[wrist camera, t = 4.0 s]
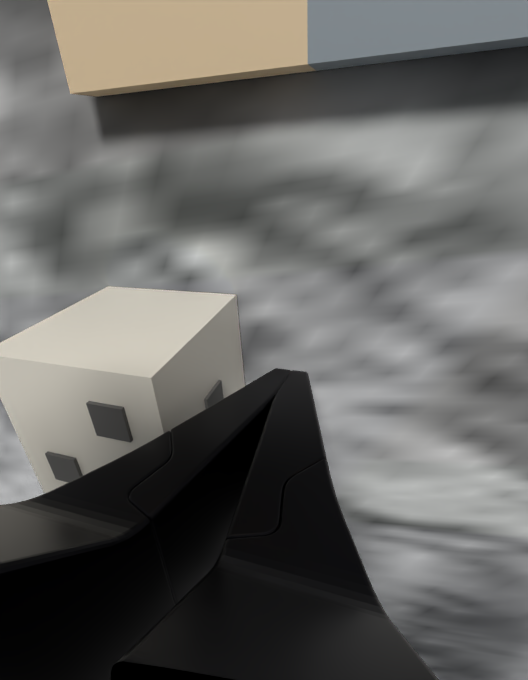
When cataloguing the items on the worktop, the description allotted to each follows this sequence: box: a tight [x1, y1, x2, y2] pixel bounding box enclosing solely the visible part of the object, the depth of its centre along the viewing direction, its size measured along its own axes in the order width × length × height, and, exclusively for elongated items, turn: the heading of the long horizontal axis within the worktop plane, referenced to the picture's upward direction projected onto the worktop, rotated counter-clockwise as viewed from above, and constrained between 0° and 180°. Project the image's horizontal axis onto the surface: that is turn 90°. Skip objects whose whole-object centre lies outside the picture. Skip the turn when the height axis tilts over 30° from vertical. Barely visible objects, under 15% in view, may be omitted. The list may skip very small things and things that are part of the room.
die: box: [0, 286, 245, 493], centre depth 10 cm, size 4×4×4 cm
